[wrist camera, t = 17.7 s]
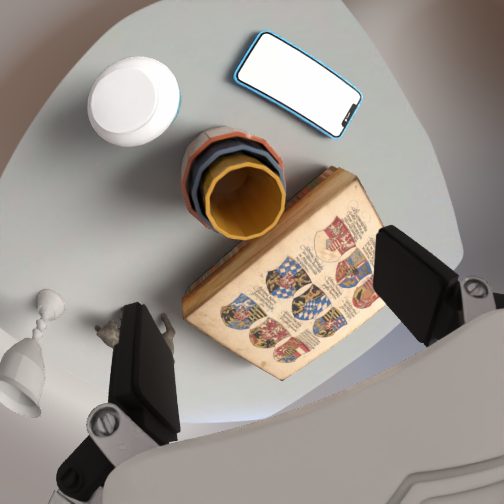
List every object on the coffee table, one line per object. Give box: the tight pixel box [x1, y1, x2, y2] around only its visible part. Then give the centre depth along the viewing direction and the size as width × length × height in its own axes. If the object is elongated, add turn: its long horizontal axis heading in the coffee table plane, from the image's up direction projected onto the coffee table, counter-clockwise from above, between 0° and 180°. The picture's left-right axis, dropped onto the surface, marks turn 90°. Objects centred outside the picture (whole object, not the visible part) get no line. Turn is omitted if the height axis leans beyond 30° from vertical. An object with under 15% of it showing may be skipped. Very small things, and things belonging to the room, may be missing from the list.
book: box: [182, 166, 386, 381], centre depth 41 cm, size 25×6×28 cm
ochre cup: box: [199, 149, 285, 240], centre depth 26 cm, size 6×6×12 cm
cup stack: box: [181, 126, 286, 233], centre depth 28 cm, size 9×9×11 cm
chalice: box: [0, 289, 65, 418], centre depth 27 cm, size 7×7×18 cm
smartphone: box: [233, 31, 363, 139], centre depth 29 cm, size 8×1×15 cm
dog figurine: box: [95, 308, 175, 363], centre depth 37 cm, size 12×6×7 cm, turn 65°
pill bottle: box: [87, 56, 181, 147], centre depth 21 cm, size 8×7×14 cm
